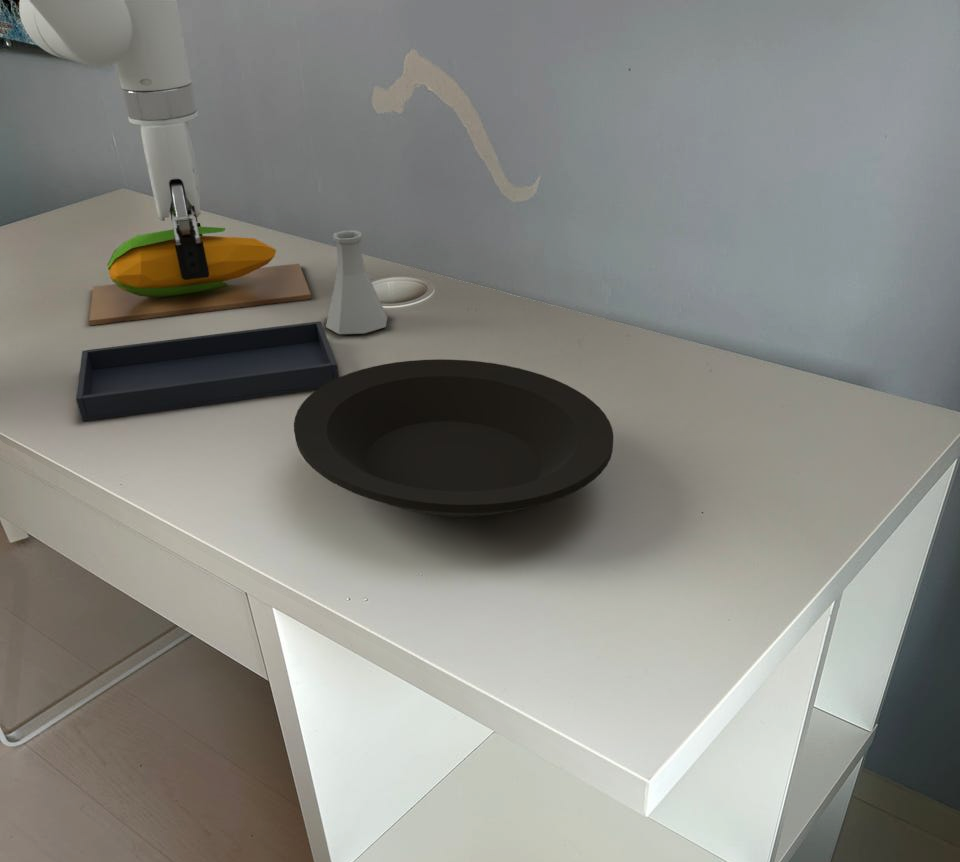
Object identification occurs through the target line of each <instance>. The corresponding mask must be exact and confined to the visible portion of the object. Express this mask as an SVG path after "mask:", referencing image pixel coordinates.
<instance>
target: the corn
mask: <svg viewBox="0 0 960 862" xmlns="http://www.w3.org/2000/svg"><path fill="white" fill-rule="evenodd" d="M198 231H199V234H202V235H203V236H200V241H203V245H204V250H205V255H206V260H207V265H208V270H209V276H208V277H206V278H197V279H188V280H184V279H183V278H182V276H181V272H180V267H179V262H178V258H177V253H176V249H175V244H176V240H175V235H174V230H173V228H172V229H166V230H160V231H155V232H149V233H143V234H137V235H135V236H134V237H132V238H130V239H128V240H126V241H124V242H123V243H122V244H121V245H119V246H118V247H117V248H116V249H115V250H114V251H113V253H112V254H111V257H110V259H109V261H108V263H107V270H108V275H109V277H110V279H111V281H112V283H113V284H116V285H117V286H118V287H120V288H121V289H122V290H124V291H127V292H130V293H133V294H135V295H138V296H145V297H156V298H161V297H169V296H176V295H184V294H192V293H199V292H207V291H212V290H215V289H219V288H223V287H227V286H228V285H227V283H224V282H223V281H227V280H231V279H235V278H238V277H242V276H244V275H246V274H248V273H250V272H252V271H254V270H256V269H258V268H263V267H266V266H267V265H268V264H269V263H270V262H271V261H272V260H273V259H274V258H275V256H276V252H277V249H276V248H274V247H272V246H271V245H268V244H266V243H264V242H263V241H260V240H258V239H257V238H254V237H238V236H237V237H236V236H218V235H217V236H216V235H207V234H215V233H223V232H225V231H226V227H214V226H201V227H198ZM205 234H206V235H205ZM195 241H196V240H195Z"/></svg>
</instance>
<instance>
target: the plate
mask: <svg viewBox="0 0 960 862" xmlns="http://www.w3.org/2000/svg"><path fill="white" fill-rule="evenodd" d="M293 434H294V440H295V443H296V447H297V450H298V451H299V453H300V455H301V456H302V458H303V459H304V461H305V462H306V463H307V464H308V465H309V466H310V467H311V468H312V469H313V470H314V471H315V472H317V473H318V474H319V475H320V476H322V478H325V479H326V480H327V481H329V482H331V483H333V484H335V485H336V486H338V487H340V488H342V489H344V490H346V491H348V492H350V493H353V494H355V495H358V496H361V497H364V498H366V499H369V500H373V501H376V502H379V503H382V504H386V505H388V506H391V507H395V508H399V509H402V510H405V511H410V512H415V513H421V514H425V515H432V516H433V515H434V516H442V517H443V516H444V517H465V518H466V517H485V516H494V515H500V514H501V515H503V514H507V513H512V512H516V511H520V510H523V509H524V510H525V509H528V508H533V507H536V506H539V505H543V504H547V503H551V502H554V501H556V500H559V499H562V498H565V497H567V496H570V495H571V494H574V493H576V492H578V491H579V490H581V489H583V488H584V487H586V486H587V485H589V484H590V483H591V482H593V481H594V480H595V479H596V478H597V477H599V476H600V475H601V474H602V473H603V472H604V470H605V469H606V467H608V465H609V463H610V461H611V458H612V455H613V450H614V449H613V448H614V431H613V427H612V424H611V422H610V420H609V418H608V417H607V414H605V412H604V411H603V410H602V409H601V408H600V406H598V405H597V404H596V403H595V402H594V401H593V400H591V399H590V398H589V396H588V397H587V396H586V395H585V394H583V393H582V392H580V391H579V390H577V389H575V388H573V387H571V386H570V385H568V384H566V383H564V382H561V381H559V380H556V379H555V378H552V377H550V376H546V375H545V374H540V373H537V372H534V371H531V370H527V369H524V368H520V367H516V366H510V365H506V364H500V363H493V362H488V361H487V362H485V361H478V360H468V359H467V360H466V359H442V358H441V359H437V358H435V359H434V358H433V359H414V360H405V361H404V360H403V361H397V362H391V363H385V364H380V365H373V366H369V367H366V368H362V369H359V370H356V371H352V372H349V373H347V374H344V375H342V376H339V378H337V379H335V380H333V381H331V382H329V383H327V384H325V385H323V386H322V387H320V388H319V389H317V390H314V391H313V392H312V393H311V394H309V396H307V397H306V398H305V400H304V401H303V402H302V403H301V405H300V406H299V408H298V409H297V411H296V414H295V416H294V421H293Z"/></svg>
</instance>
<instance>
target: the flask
mask: <svg viewBox="0 0 960 862" xmlns="http://www.w3.org/2000/svg"><path fill="white" fill-rule="evenodd" d="M362 238H363V234H362V232H361V231H358V230H356V229H355V230H354V229H353V230H352V229H351V230H341V231H337V232H334V233H333V235H332V240H333V242H334V243H335V244H336V253H337V259H336V260H337V262H336V266H337V267H336V275H335V281H334V286H333V292H332V297H331V300H330V306H329V309H328V310H329V311H328V314H327V319H326V324H325V327H326V328H327V329H328V330H331V331H332V332H335V333H336V334H338V335H353V334H354V335H355V334H359V335H360V334H367V333H371V332H374V331H376V330H380V329H383V328H386V327H387V322H388V315H387V314H386V311H385V309H384V307H383V304H382V302H381V300H380V298H379V296H378V294H377V291H376V289H375V287H374V285H373V283H372V281H371V278H370V276H369V273H368V271H367V268H366V264H365V261H364V257H363V254H362V248H361V241H362Z"/></svg>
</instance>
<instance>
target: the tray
mask: <svg viewBox="0 0 960 862" xmlns="http://www.w3.org/2000/svg"><path fill="white" fill-rule="evenodd" d="M338 367H339V366H338V364H337V361H336V358H335V355H334V352H333V350H332V347H331V344H330V342H329V339H328V336H327V334H326V331H325V328H324V326H323V323H322V321H321V320H319V321H318V320H317V321H311V322H310V321H309V322H302V323H293V324H287V325H285V324H284V325H278V326H277V325H276V326H270V327H263V328H262V327H261V328H254V329H246V330H237V331H229V332H222V333H221V332H220V333H214V334H205V335H198V336H190V337H181V338H172V339H164V340H158V341H150V342H149V341H148V342H141V343H132V344H125V345H116V346H110V347H109V346H107V347H101V348H94V349H93V348H92V349H84V350H81V358H80V366H79V373H78V379H77V389H76V394H75V395H76V397H75V401H76V404H77V407H78V410H79V415H80V417H81V420H82V423H83V422H91V421H97V420H105V419H106V420H107V419H113V418H119V417H127V416H128V417H129V416H133V415H134V416H135V415H143V414H149V413H156V412H164V411H171V410H179V409H184V408H186V409H187V408H192V407H202V406H209V405H217V404H223V403H229V402H231V403H232V402H237V401H245V400H251V399H259V398H267V397H273V396H281V395H287V394H289V395H290V394H296V393H303V392H310V391H316V390H317V389H319V388H320V387H322V386H323V385H325V384H327V383H329V382H331V381H333V380H335V379H337V378H339V377H340V376H339V375H340V374H339V368H338Z"/></svg>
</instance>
